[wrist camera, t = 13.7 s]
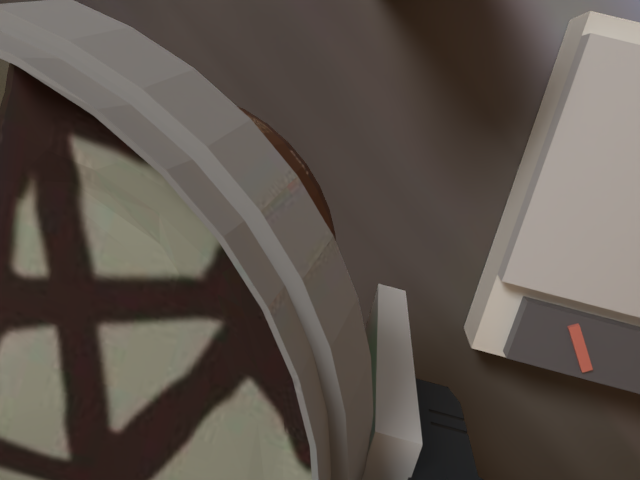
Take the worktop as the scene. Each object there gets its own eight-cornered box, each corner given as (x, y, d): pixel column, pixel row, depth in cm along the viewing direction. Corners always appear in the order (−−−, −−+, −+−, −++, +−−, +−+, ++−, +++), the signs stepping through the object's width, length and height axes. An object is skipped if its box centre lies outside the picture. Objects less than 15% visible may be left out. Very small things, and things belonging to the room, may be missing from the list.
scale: (569, 19, 25) (599, 7, 21) (808, 77, 24) (877, 73, 21) (463, 327, 29) (474, 357, 26) (664, 381, 29) (702, 418, 25)
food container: (300, 470, 18) (210, 897, 9) (131, 407, 18) (-145, 761, 9) (444, 121, 15) (564, 190, 5) (232, 44, 15) (-53, -35, 5)
